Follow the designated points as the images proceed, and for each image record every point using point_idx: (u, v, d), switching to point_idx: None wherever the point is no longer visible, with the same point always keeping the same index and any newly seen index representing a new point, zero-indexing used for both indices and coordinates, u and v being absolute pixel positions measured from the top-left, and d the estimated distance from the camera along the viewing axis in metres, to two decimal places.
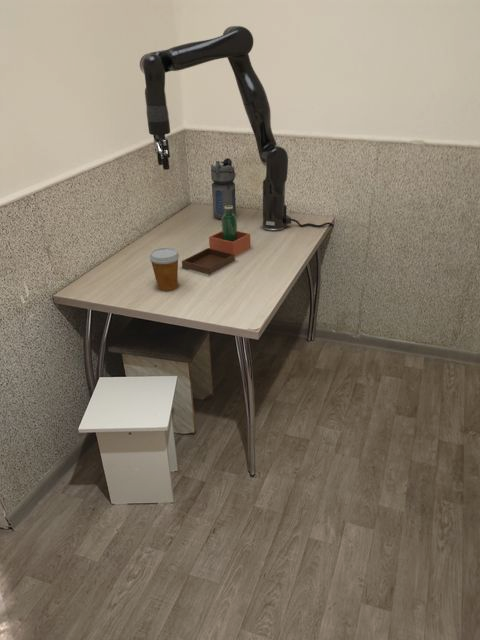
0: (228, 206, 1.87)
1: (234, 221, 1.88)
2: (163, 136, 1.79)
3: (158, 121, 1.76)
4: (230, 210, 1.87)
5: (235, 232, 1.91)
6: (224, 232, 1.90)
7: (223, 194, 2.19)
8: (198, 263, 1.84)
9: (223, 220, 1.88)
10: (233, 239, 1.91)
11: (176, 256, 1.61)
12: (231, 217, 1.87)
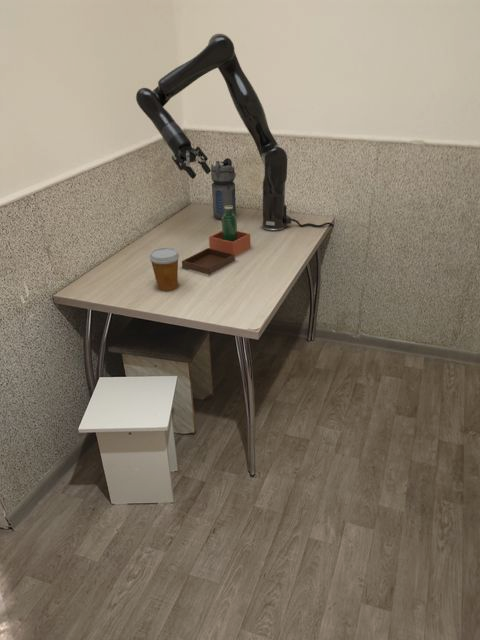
0: (228, 206, 1.87)
1: (234, 221, 1.88)
2: (177, 150, 1.84)
3: (168, 141, 1.84)
4: (230, 210, 1.87)
5: (235, 232, 1.91)
6: (224, 232, 1.90)
7: (223, 194, 2.19)
8: (198, 263, 1.84)
9: (223, 220, 1.88)
10: (233, 239, 1.91)
11: (176, 256, 1.61)
12: (231, 217, 1.87)
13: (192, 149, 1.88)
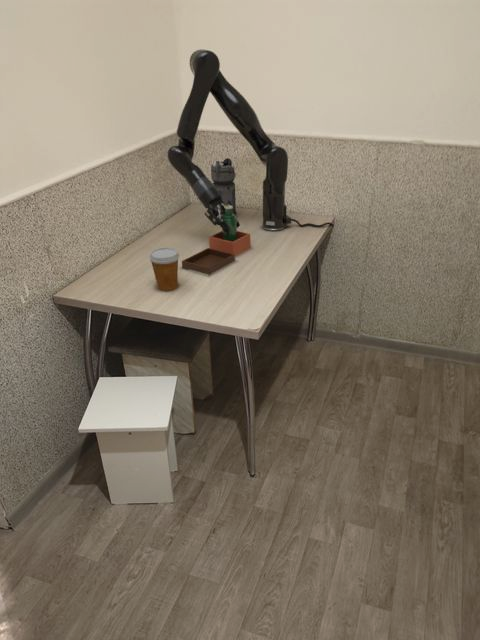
0: (228, 206, 1.87)
1: (234, 221, 1.88)
2: (209, 205, 1.87)
3: (199, 196, 1.88)
4: (230, 210, 1.87)
5: (235, 232, 1.91)
6: (224, 232, 1.90)
7: (223, 194, 2.19)
8: (198, 263, 1.84)
9: None
10: (233, 239, 1.91)
11: (176, 256, 1.61)
12: (231, 217, 1.87)
13: (222, 202, 1.91)
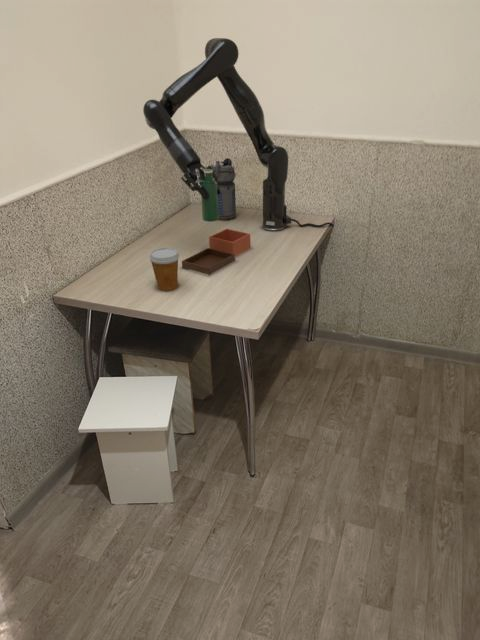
0: (208, 170, 1.69)
1: (214, 187, 1.71)
2: (186, 169, 1.69)
3: (176, 159, 1.70)
4: (210, 174, 1.69)
5: (215, 199, 1.73)
6: (203, 199, 1.73)
7: (223, 194, 2.19)
8: (198, 263, 1.84)
9: (202, 185, 1.70)
10: (213, 207, 1.74)
11: (176, 256, 1.61)
12: (211, 182, 1.70)
13: (202, 167, 1.74)
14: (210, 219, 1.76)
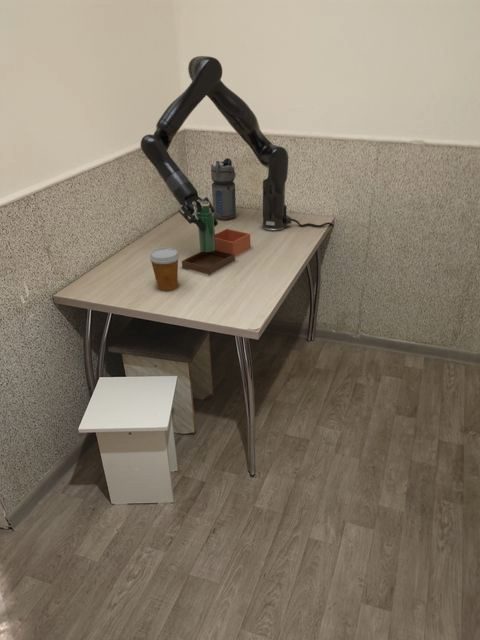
0: (205, 203, 1.72)
1: (211, 219, 1.73)
2: (183, 202, 1.72)
3: (173, 192, 1.73)
4: (206, 207, 1.72)
5: (212, 231, 1.76)
6: (200, 231, 1.75)
7: (223, 194, 2.19)
8: (198, 263, 1.84)
9: None
10: (210, 239, 1.77)
11: (176, 256, 1.61)
12: (208, 215, 1.73)
13: (199, 199, 1.77)
14: (207, 250, 1.78)
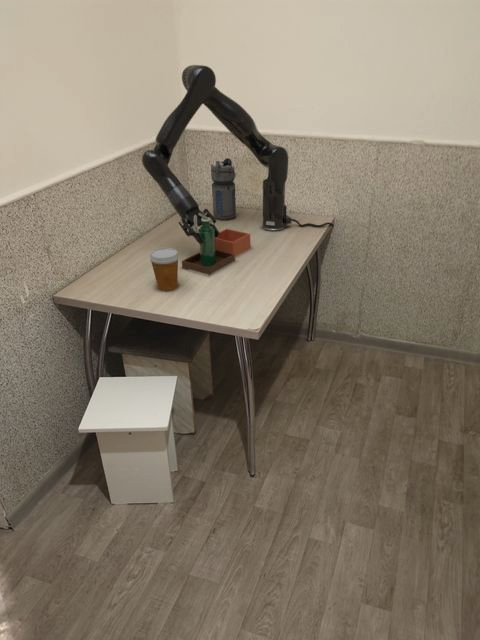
0: (205, 218, 1.75)
1: (212, 234, 1.76)
2: (185, 215, 1.75)
3: (175, 205, 1.75)
4: (207, 222, 1.75)
5: (213, 246, 1.79)
6: (201, 246, 1.78)
7: (223, 194, 2.19)
8: (198, 263, 1.84)
9: (200, 233, 1.76)
10: (211, 253, 1.79)
11: (176, 256, 1.61)
12: (208, 230, 1.75)
13: (200, 212, 1.79)
14: (208, 264, 1.81)
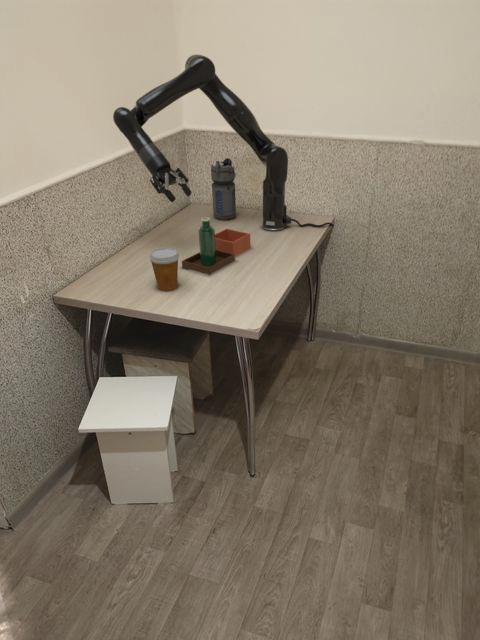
0: (205, 218, 1.75)
1: (212, 234, 1.76)
2: (156, 173, 1.76)
3: (146, 163, 1.76)
4: (207, 222, 1.75)
5: (213, 246, 1.79)
6: (201, 246, 1.78)
7: (223, 194, 2.19)
8: (198, 263, 1.84)
9: (200, 233, 1.76)
10: (211, 253, 1.79)
11: (176, 256, 1.61)
12: (208, 230, 1.75)
13: (172, 171, 1.80)
14: (208, 264, 1.81)
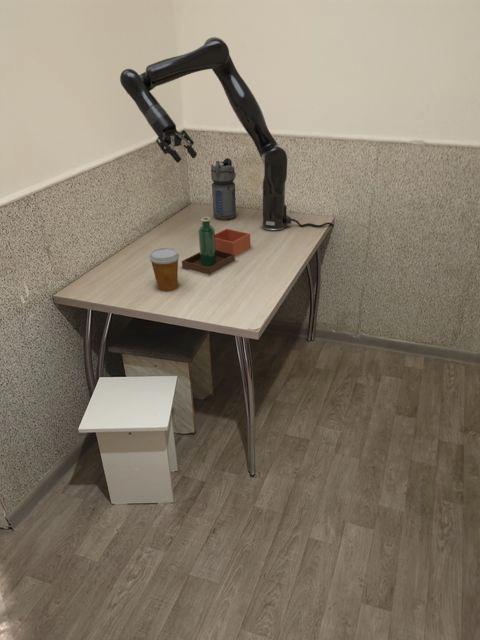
0: (205, 218, 1.75)
1: (212, 234, 1.76)
2: (162, 134, 1.79)
3: (152, 124, 1.80)
4: (207, 222, 1.75)
5: (213, 246, 1.79)
6: (201, 246, 1.78)
7: (223, 194, 2.19)
8: (198, 263, 1.84)
9: (200, 233, 1.76)
10: (211, 253, 1.79)
11: (176, 256, 1.61)
12: (208, 230, 1.75)
13: (177, 132, 1.83)
14: (208, 264, 1.81)
